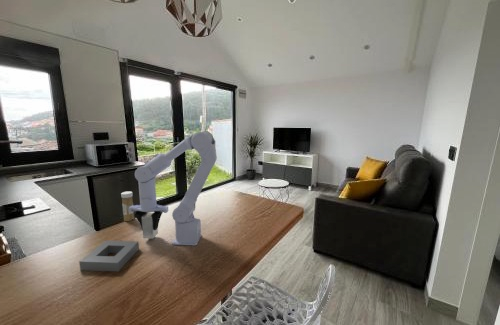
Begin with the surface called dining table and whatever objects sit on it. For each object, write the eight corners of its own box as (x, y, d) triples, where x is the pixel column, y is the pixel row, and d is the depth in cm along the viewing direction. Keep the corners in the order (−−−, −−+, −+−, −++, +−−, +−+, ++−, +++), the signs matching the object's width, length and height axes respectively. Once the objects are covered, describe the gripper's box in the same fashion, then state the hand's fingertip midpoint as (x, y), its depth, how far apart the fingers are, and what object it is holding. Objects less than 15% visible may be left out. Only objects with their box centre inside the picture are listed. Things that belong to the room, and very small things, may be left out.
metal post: (157, 233, 86) (156, 212, 85) (153, 238, 82) (151, 216, 81) (148, 232, 86) (146, 212, 85) (143, 238, 82) (141, 216, 81)
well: (138, 248, 78) (138, 241, 77) (118, 271, 66) (117, 262, 65) (106, 247, 78) (105, 240, 77) (80, 270, 66) (79, 261, 65)
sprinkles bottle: (135, 220, 100) (132, 193, 97) (123, 222, 97) (121, 194, 95) (134, 216, 104) (131, 190, 101) (123, 218, 101) (120, 191, 99)
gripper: (170, 193, 85) (172, 224, 88) (134, 192, 85) (137, 223, 88) (163, 199, 78) (165, 233, 81) (124, 198, 78) (127, 232, 81)
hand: (150, 228), depth 84 cm, fingers closed on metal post, 4 cm apart
